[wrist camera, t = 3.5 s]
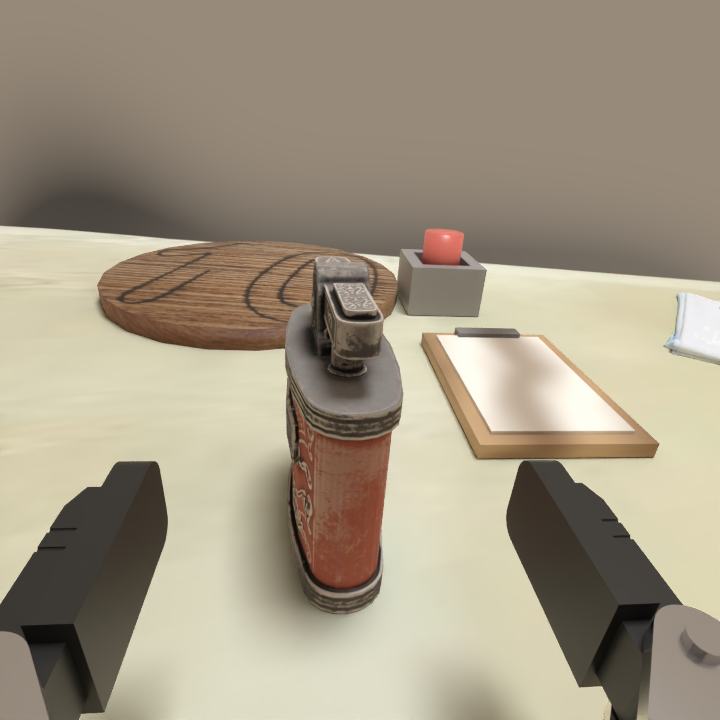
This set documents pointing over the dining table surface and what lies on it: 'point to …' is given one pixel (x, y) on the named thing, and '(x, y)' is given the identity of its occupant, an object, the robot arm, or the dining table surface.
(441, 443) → the dining table surface
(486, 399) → the clipboard
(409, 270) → the button box
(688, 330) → the folded patterned cloth
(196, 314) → the trivet
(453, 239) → the button
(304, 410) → the lighter
